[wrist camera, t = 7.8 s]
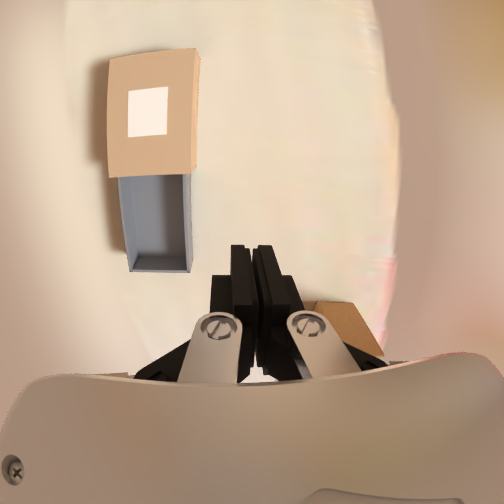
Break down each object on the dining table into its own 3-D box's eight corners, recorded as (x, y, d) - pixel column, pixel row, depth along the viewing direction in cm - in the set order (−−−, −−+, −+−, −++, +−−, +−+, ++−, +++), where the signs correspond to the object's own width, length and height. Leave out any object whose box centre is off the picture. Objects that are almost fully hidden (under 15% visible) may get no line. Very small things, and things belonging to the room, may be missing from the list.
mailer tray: (128, 166, 35) (117, 171, 31) (190, 163, 36) (185, 168, 32) (137, 257, 42) (129, 271, 38) (193, 258, 43) (190, 272, 39)
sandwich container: (294, 355, 56) (308, 411, 43) (315, 300, 49) (341, 359, 36) (328, 354, 57) (348, 407, 44) (354, 302, 51) (385, 356, 37)
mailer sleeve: (125, 66, 28) (109, 58, 23) (200, 59, 29) (195, 47, 24) (124, 169, 35) (108, 178, 30) (196, 166, 37) (190, 174, 31)
